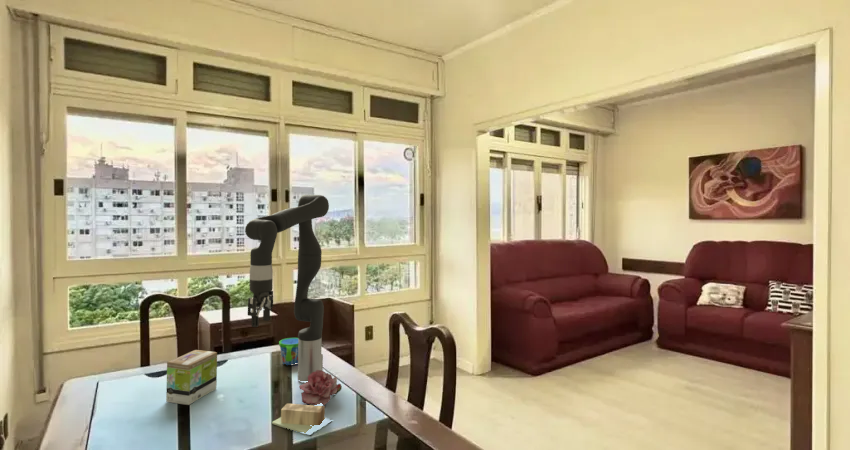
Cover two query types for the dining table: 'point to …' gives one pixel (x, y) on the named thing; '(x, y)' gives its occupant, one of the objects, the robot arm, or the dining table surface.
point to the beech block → (302, 414)
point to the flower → (319, 388)
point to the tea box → (191, 376)
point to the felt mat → (292, 426)
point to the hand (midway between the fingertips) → (261, 323)
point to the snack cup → (289, 350)
